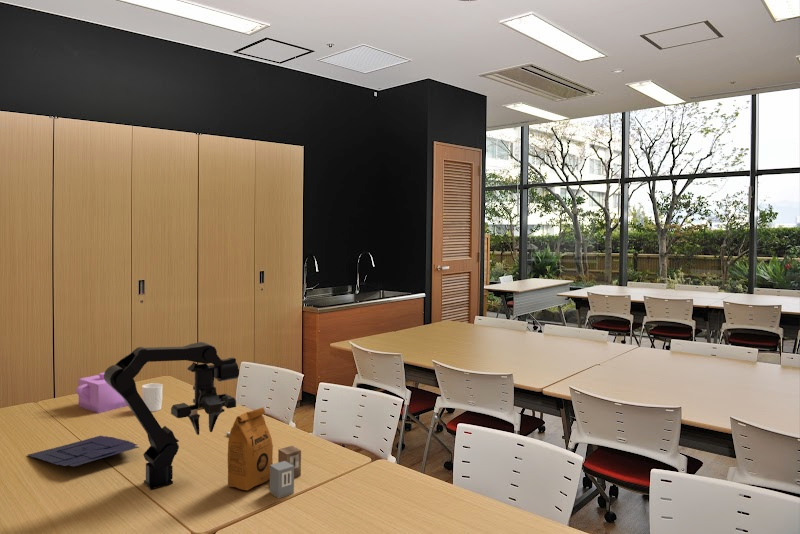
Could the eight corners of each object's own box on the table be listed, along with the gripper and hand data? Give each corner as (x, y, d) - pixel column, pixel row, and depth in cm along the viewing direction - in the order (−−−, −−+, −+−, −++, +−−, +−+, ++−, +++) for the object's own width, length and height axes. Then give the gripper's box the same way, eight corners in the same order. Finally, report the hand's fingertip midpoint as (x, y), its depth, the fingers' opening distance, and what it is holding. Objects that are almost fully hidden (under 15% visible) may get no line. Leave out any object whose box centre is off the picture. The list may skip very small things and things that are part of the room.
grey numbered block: (279, 498, 165) (279, 471, 164) (269, 492, 169) (269, 465, 168) (294, 493, 168) (294, 466, 168) (284, 487, 172) (285, 460, 172)
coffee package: (277, 480, 177) (278, 408, 175) (246, 495, 166) (246, 419, 165) (255, 472, 182) (255, 402, 181) (222, 486, 172) (223, 412, 170)
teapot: (144, 401, 252) (144, 369, 251) (86, 416, 231) (86, 381, 230) (124, 395, 260) (124, 364, 259) (66, 409, 239) (66, 375, 238)
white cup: (158, 412, 238) (157, 388, 237) (138, 412, 238) (138, 387, 237) (166, 406, 245) (166, 383, 245) (147, 406, 246) (147, 382, 245)
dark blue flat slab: (67, 477, 172) (66, 465, 172) (26, 463, 191) (25, 452, 191) (146, 453, 192) (145, 442, 192) (101, 443, 210) (101, 432, 210)
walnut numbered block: (287, 480, 177) (287, 454, 176) (278, 474, 181) (278, 449, 180) (301, 476, 180) (301, 450, 180) (292, 470, 184) (292, 445, 184)
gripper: (184, 394, 168) (184, 447, 169) (244, 384, 181) (244, 433, 182) (170, 386, 176) (170, 437, 177) (228, 377, 189) (228, 424, 190)
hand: (204, 433), depth 181 cm, fingers open, 4 cm apart
